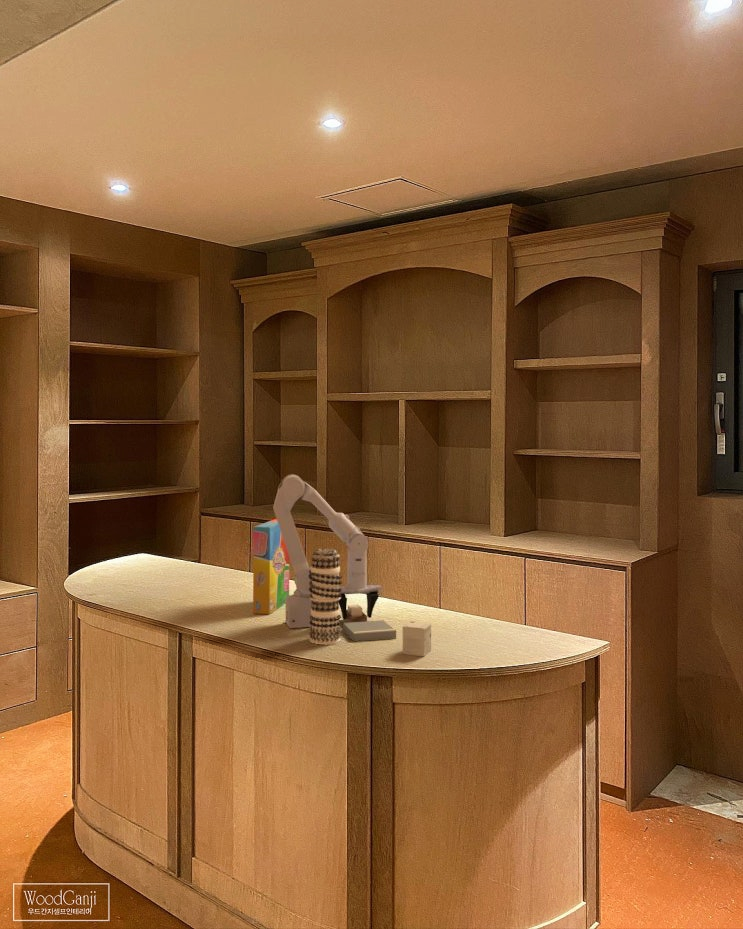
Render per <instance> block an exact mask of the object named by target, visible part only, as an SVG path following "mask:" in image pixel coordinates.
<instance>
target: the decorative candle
mask: <svg viewBox="0 0 743 929" xmlns="http://www.w3.org/2000/svg"><path fill="white" fill-rule="evenodd" d="M341 556H342V555H341V554H339V553H338V551H337V550H336V549H333V548H318V549H316V550H314V552H313V553H312V554H311V555H310V557H311V566H310V571H309V573H310V575H308V577H309V579H311V581H310V582H309V585H310V588H309V590H310V592H311V594H310V596H309V597H310V600H312V602H311V607H312V608H311V615H310V616H309V617H310V619H311V621H310V622H309V623H310V625H312V626H311V627H308V628H309V629H308V630H309V632H310V633H309V637H310V638H309V643H311V642H312V644H313V643H315V644H314V645H317V644H326V645H325V646H328V645H327V644H332V645H335V644H334V643H337V642H339V641H340V640H341V637H342V634H341V631H342V628H341V626H340V625H341V624H342V622H341V619H342V615H341V608H340V605H339V600H340V599H341V596H342V595H341V594H340V593H339V592H340V591H341V590H342V589H341V588H339V587H340V585H342V584H343V581H341V579H343V575H341V574H340V572H341V566H340V557H341ZM340 642H341V641H340ZM340 642H339V643H340ZM337 644H338V643H337Z"/></svg>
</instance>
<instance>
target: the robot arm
mask: <svg viewBox="0 0 743 929" xmlns="http://www.w3.org/2000/svg"><path fill="white" fill-rule="evenodd" d="M299 499H301V500H302V501H306V502H310V503H311V504H312V505H313V506H315V508H316V509H317V510H318V511H319V512H320V513H321V514H322V515H323V516H324V517H325V518H326V519H327V520H328V527H329V529H330V530H332V532H334V533H335V534H336V535H337V537H338V538H339V539H340V540H341V541H342V542H344V543H346V544H345V545H346V546H347V547H348V549H347V569H346V570H347V575H346V576H347V582H346V584H347V585H346V586H339V588H341V589H342V590H341V591H340V592H339V593H340V594H341V595H342V596H341V599H340V600H339V609H340V613H341V619H342V620H343V619H346V617H347V614H346V610H347V606H348V605H347V603H348V597H347V595H355V594H356V595H359V594H360V595H361V594H366V603H367V604H366V605H367V606H366V616H367V618H369V619H370V618H372V615H373V611H374V608H375V605H376V603H377V601H378V599H379V598H380V597H379V596H380V595H379V594H381V593H382V586H381V585H379V584H377V585H375V584H372V585H371V584H370V585H369V584H368V585H367V582H368V581H367V578H368V577H367V576H368V575H367V574H368V572H367V571H368V570H367V569H368V566H367V564H368V560H367V559H368V558H367V553H368V552H367V550H368V548H369V541H368V538H367V537H366V535H365V534H363V532H362V531H361V528H360V527H359V526H356V525H355V524H354V523H353V522H352V521H351V519H350V516H349V515H348V514H347V513H346V514H344V513H343V512H336V510H334V509H333V507H331V505H330V504H329V503H328V502H327V501H326V500H325V499H324V497H322V495H321V494H320V493H319V492H318V491H317V490H316V489H315V488H314V487H312V486H311V485H310V484H309V483H307V482H306V481H304V480H303V479H302V478H301V477H300V476H299V475H298V474H297V475H296V474H288V475H287V476H284V477H283V479H282V481H281V482H280V483H279V485H278V487H277V492H276V496H275V499H274V502H273V503H274V504H273V506H272V508H273V512H274V515H275V519H277V521H278V524H279V527H280V530H281V533H282V536H283V539H284V542H285V545H286V548H287V551H288V554H289V561H290V562H291V566H292V569H293V571H294V578H293V580H294V585H295V587H296V588H295V590H294V591H293V594H289V596H286V603H285V623H286V625H287V627H288V628H289V629H298V628H299V629H300V628H310V627H311V626H312V625H310V623H309V622H310V621H311V619H310V617H309V616H310V615H311V608H312V607H311V602H312V600H310V597H309V596H310V594H311V592H310V590H309V588H310V585H309V582H310V581H311V579H309V577H308V575H310V573H309V571H310V570H311V567H310V565H309V563H308V560H307V558H306V554H305V551H304V549H303V546H302V542H301V540H300V537H299V533H298V531H297V527H296V524H295V521H294V518H293V516H292V513H291V510H292V508H293V507H294V505H295V504H296V502H297V501H298V500H299Z"/></svg>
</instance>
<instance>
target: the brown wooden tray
mask: <svg viewBox="0 0 743 929" xmlns="http://www.w3.org/2000/svg"><path fill="white" fill-rule="evenodd" d="M346 614H347V617H346V619H343V618H342V621H343V622H344V623H352V622H366V621H368V616H367V614H366V613H364V611H362V616H356V617H351V616H350V615H349V614H348V609H346Z"/></svg>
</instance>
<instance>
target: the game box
mask: <svg viewBox="0 0 743 929" xmlns="http://www.w3.org/2000/svg"><path fill="white" fill-rule="evenodd" d="M252 530H253V532H252V533H253V537H252V538H253V542H252V543H253V548H252V550H253V552H252V554H253V558H252V559H253V567H252V568H253V569H252V570H253V573H252V574H253V575H252V576H253V577H252V578H253V579H252V581H253V582H252V583H253V586H252V590H253V591H252V598H253V599H252V613H253V614H258V615H270V614H271V613H273V612H275V611H276V610H277V609H279V608H280V607H281V606H283V605H284V604H286V596H289V595H290V557H289V554H288V551H287V548H286V545H285V542H284V539H283V536H282V533H281V530H280V527H279V524H278V521H277V518H274V519H271V520H269V521H266V522H264V523H261V524H258V525H255V526H253V529H252Z"/></svg>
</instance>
